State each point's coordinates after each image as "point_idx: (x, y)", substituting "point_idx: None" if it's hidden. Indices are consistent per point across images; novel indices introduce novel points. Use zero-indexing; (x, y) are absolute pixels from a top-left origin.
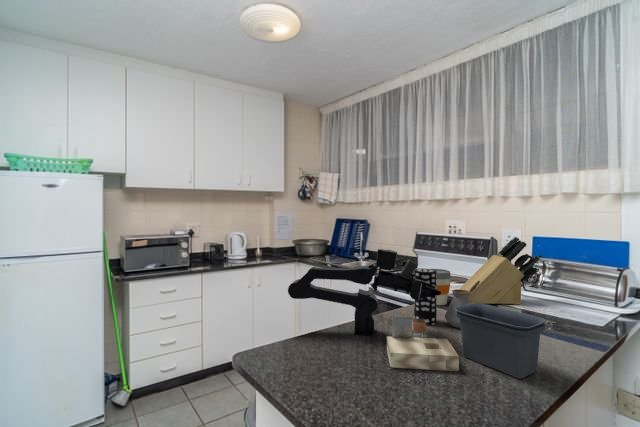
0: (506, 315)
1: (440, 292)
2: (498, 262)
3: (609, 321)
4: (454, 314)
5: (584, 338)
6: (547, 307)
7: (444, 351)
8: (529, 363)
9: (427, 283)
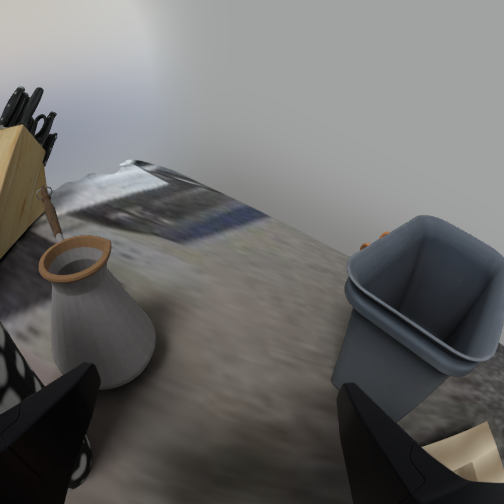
0: (398, 251)
1: (352, 387)
2: (10, 139)
3: (154, 175)
4: (118, 357)
5: (216, 210)
6: (79, 192)
7: (479, 453)
8: (434, 311)
9: (52, 406)
